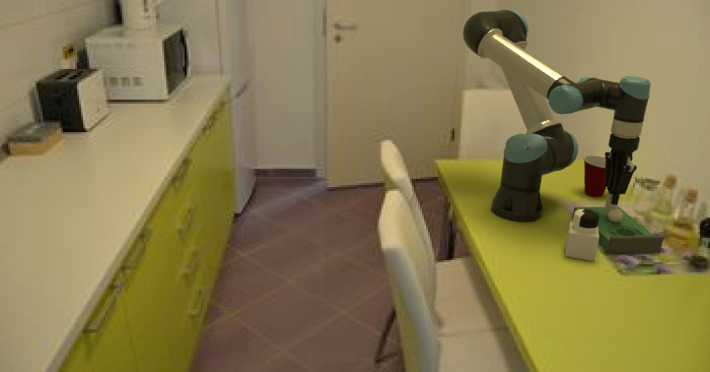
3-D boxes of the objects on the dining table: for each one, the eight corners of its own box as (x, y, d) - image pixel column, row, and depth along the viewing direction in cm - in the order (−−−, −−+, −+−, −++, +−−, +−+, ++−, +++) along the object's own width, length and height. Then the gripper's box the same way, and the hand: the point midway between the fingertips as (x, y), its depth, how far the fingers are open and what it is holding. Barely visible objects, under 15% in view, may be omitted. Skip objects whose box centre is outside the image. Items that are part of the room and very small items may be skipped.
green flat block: (609, 253, 152) (612, 238, 150) (572, 216, 174) (574, 202, 172) (660, 252, 153) (663, 237, 152) (617, 215, 175) (619, 202, 173)
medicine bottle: (593, 249, 154) (601, 208, 150) (594, 261, 148) (603, 219, 143) (565, 244, 156) (572, 204, 152) (565, 256, 150) (572, 215, 145)
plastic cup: (613, 202, 184) (621, 167, 180) (578, 198, 187) (584, 163, 183) (610, 190, 194) (617, 156, 189) (576, 186, 197) (582, 153, 192)
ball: (603, 213, 165) (607, 225, 163) (609, 205, 162) (614, 217, 160) (615, 213, 166) (620, 225, 163) (622, 205, 163) (627, 217, 160)
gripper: (651, 141, 151) (634, 222, 160) (626, 127, 163) (611, 204, 172) (624, 141, 151) (608, 223, 159) (600, 128, 163) (586, 204, 171)
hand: (609, 213), depth 166 cm, fingers closed
